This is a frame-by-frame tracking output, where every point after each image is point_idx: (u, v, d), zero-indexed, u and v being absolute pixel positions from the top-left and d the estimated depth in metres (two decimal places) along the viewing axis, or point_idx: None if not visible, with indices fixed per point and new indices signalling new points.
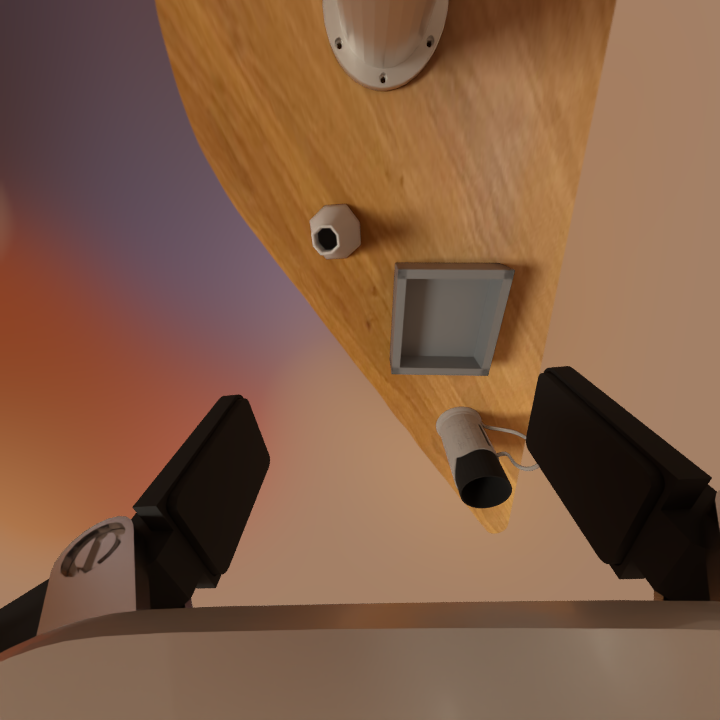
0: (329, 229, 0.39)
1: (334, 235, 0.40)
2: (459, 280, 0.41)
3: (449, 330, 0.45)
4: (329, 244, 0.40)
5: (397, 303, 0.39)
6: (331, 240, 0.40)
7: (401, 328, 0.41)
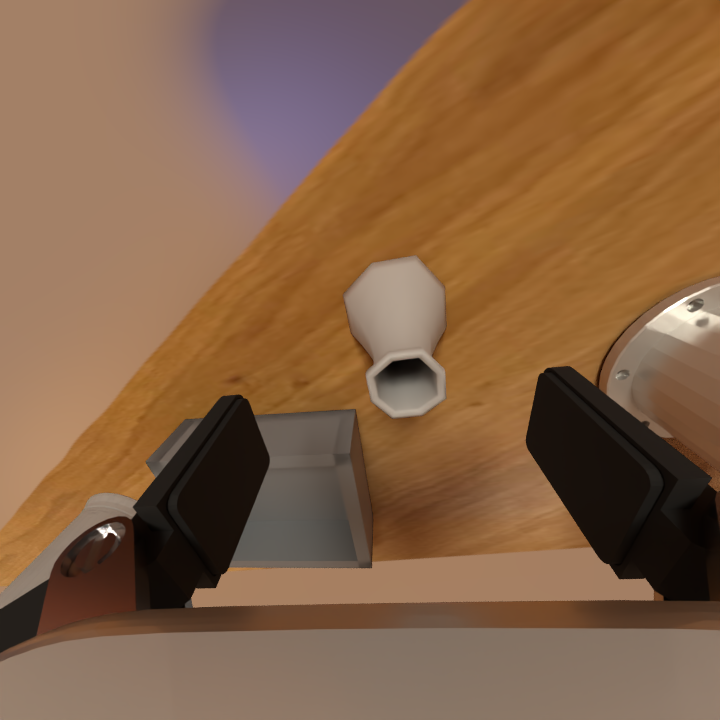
0: None
1: None
2: None
3: (268, 492, 0.29)
4: None
5: (288, 457, 0.20)
6: None
7: None
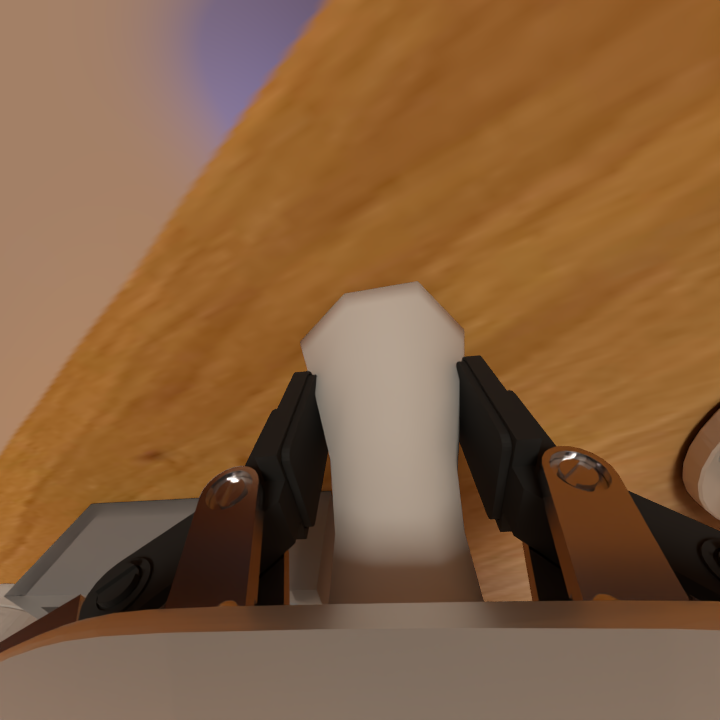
0: None
1: None
2: None
3: None
4: None
5: None
6: None
7: None
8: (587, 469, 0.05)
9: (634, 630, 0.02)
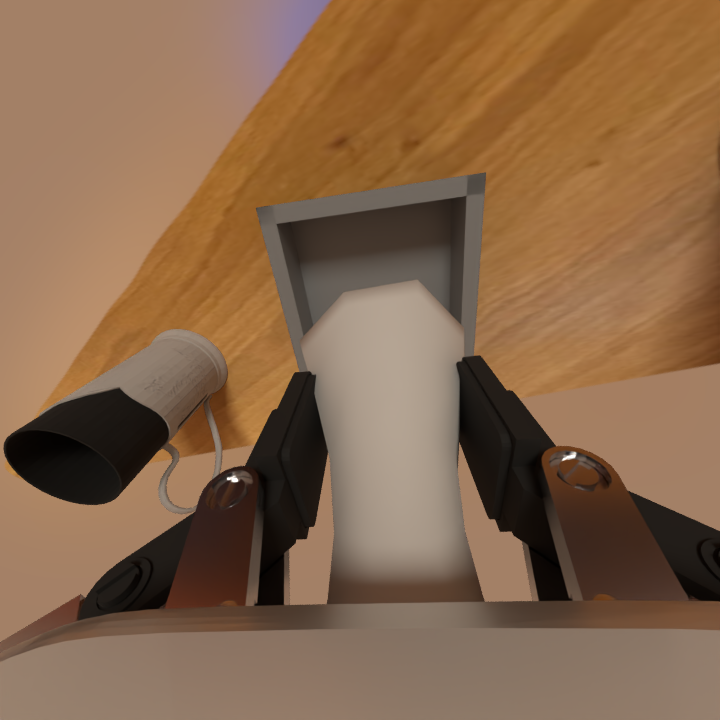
0: None
1: None
2: (438, 298, 0.27)
3: None
4: None
5: (416, 186, 0.19)
6: None
7: (364, 207, 0.20)
8: (587, 469, 0.05)
9: (634, 630, 0.02)
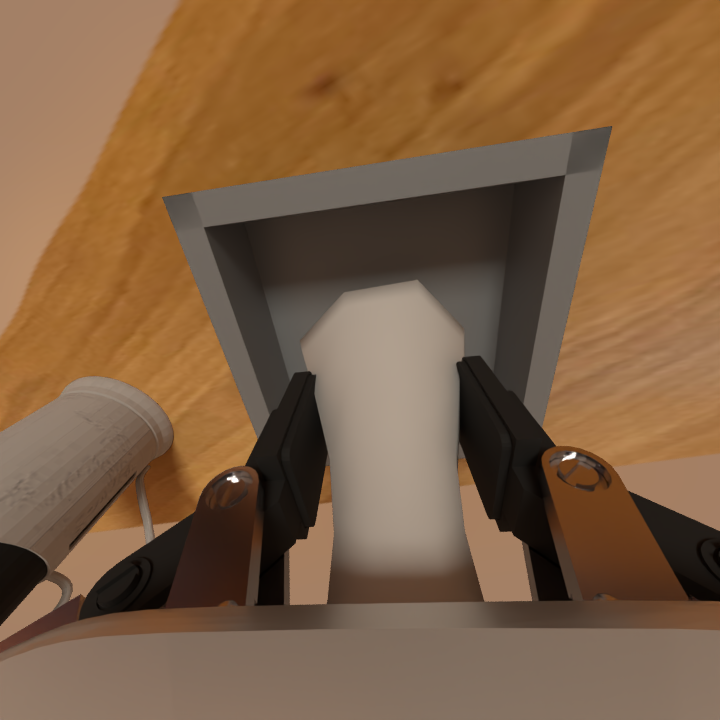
0: None
1: None
2: (479, 341, 0.17)
3: None
4: None
5: (469, 156, 0.10)
6: None
7: (366, 198, 0.10)
8: (587, 469, 0.05)
9: (634, 630, 0.02)
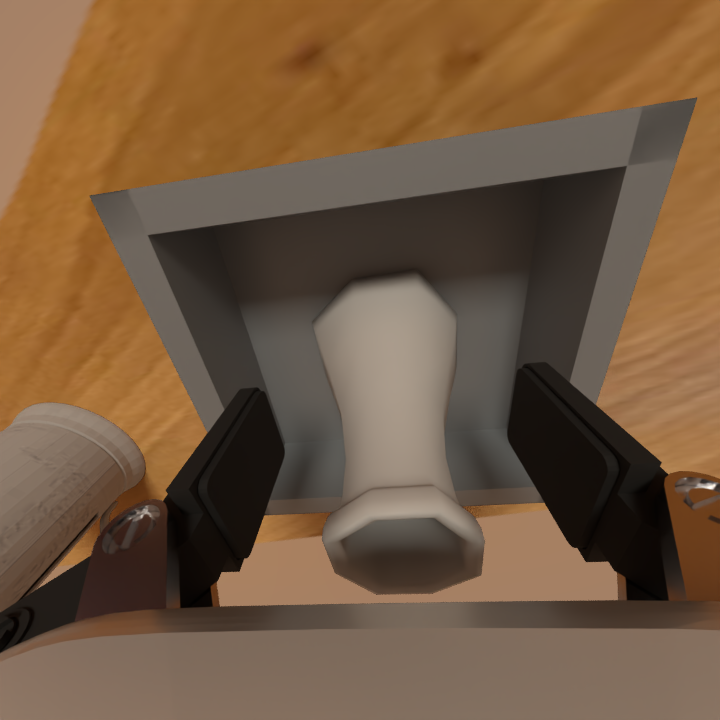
0: None
1: None
2: (494, 365, 0.15)
3: None
4: None
5: (498, 140, 0.07)
6: None
7: (359, 196, 0.08)
8: None
9: (634, 630, 0.02)
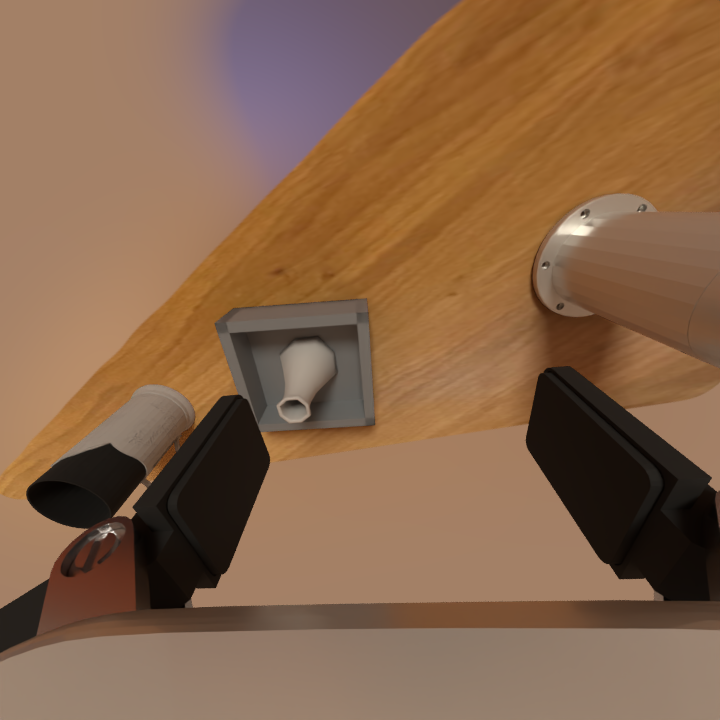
0: None
1: None
2: (354, 372, 0.37)
3: None
4: None
5: (324, 317, 0.29)
6: None
7: (290, 327, 0.29)
8: None
9: (634, 630, 0.02)
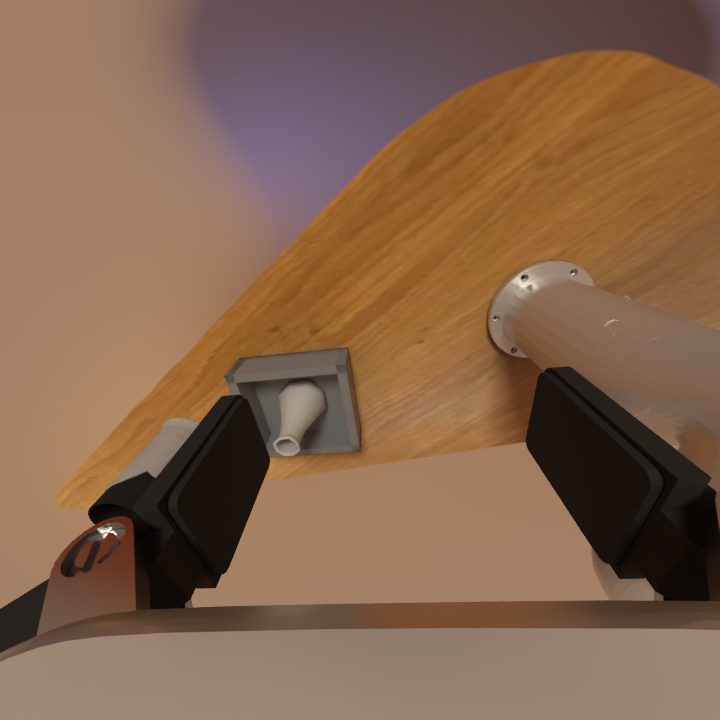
0: None
1: None
2: (341, 406, 0.43)
3: None
4: None
5: (310, 369, 0.36)
6: None
7: (283, 377, 0.36)
8: None
9: (634, 630, 0.02)
